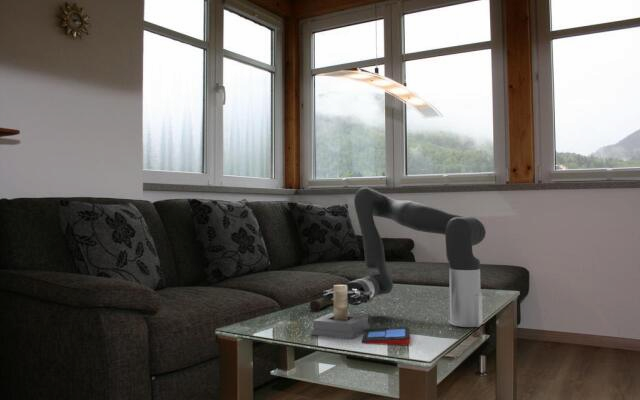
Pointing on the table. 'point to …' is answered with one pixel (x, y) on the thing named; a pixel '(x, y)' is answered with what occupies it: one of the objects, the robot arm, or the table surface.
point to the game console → (387, 336)
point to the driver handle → (340, 303)
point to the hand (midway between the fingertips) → (338, 299)
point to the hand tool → (320, 304)
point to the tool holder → (340, 326)
